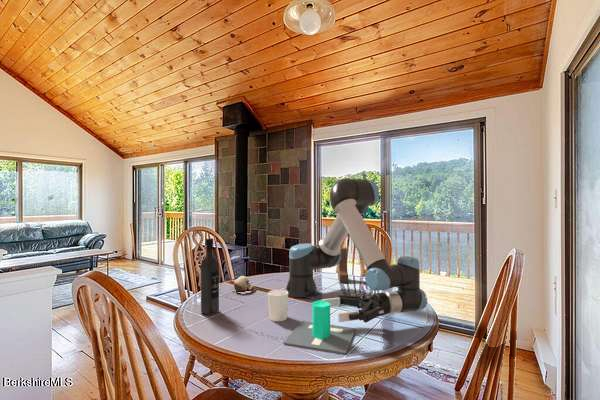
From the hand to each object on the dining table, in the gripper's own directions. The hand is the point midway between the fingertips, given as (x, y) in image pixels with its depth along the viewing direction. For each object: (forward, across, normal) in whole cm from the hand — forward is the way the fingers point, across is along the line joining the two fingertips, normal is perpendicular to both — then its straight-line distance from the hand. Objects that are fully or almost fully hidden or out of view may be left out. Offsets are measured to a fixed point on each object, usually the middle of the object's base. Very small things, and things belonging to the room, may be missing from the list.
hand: (330, 310), depth 103 cm
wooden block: (-34, +62, -9) cm, 71 cm away
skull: (+22, +60, -9) cm, 65 cm away
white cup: (+13, +20, -9) cm, 26 cm away
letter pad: (+3, 0, -9) cm, 9 cm away
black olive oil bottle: (+38, +35, -9) cm, 53 cm away
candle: (+3, 0, -8) cm, 9 cm away
